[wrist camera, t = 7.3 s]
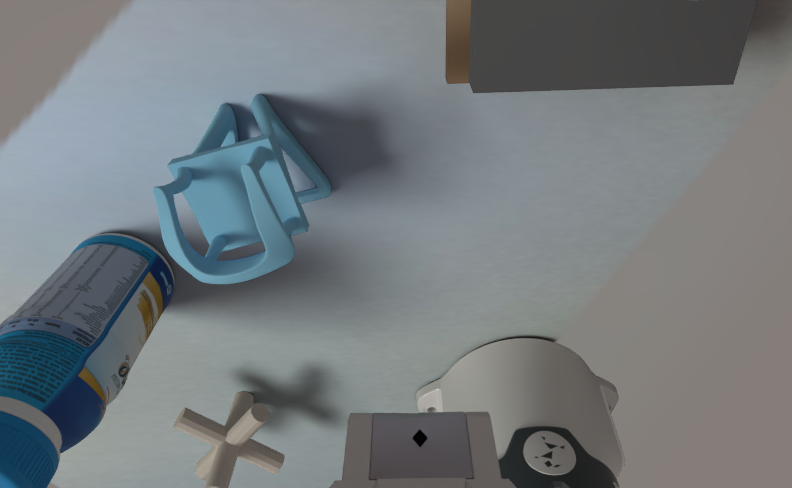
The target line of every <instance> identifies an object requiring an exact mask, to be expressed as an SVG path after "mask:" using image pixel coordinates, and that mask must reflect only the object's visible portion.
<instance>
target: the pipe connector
mask: <svg viewBox="0 0 792 488" xmlns="http://www.w3.org/2000/svg"><path fill="white" fill-rule="evenodd" d="M253 402H254V397H253V396H252V395H251V394H250V393H248V392H239V393H237V394H236V395H235V398H234V401H233V404H232V407H231V410H230V413H229V416H228V419H227V422H226V425H225V426H223V425H221V424H219V423H217V422H215V421H213V420H211V419H209V418H206V417H204V416H202V415H200V414H198V413H196V412H194V411H192V410H190V409H188V408H186V407H185V408H184V409H183V410H182V411H181V413H180V414H179V416H178V418H177V419H176V422H175V424H174V428H176V429H178V430H180V431H182V432H185V433H187V434H189V435H191V436H193V437H195V438H198V439H200V440H202V441H204V442H206V443H208V444H211V445H213V446H214V447H213V448H212V449H211V450H210V451H209V452H208V453H207V454H206V455H205V456H204V457H203V458H202V459H201V460H200V461H199V462H198V464H197V465H196V466H195V472H196V474H197V476H198V477H199V478H200V479H204V480H207V482H206V485H205V488H228V486H229V483H230V480H231V476H232V473H233V470H234V466H235V463H236V459H237V457H239V458H241V459H243V460H245V461H247V462H250V463H252V464H254V465H256V466H258V467H260V468H263V469H265V470H267V471H269V472H271V473H273V474H276V473H277V472H278V471H279V470H280V468H281V466H282V464H283V462H284V455H283V454H282V453H280V452H278V451H275V450H273V449H271V448H269V447H267V446H265V445H263V444H261V443H259V442H257V441H255V440H252V439H250V438H251V437H252V436H253V435H254V434H255V433H256V432H257V431H258V430H259V429H260V428H261V427H262V426H263V425H264V424H265V423H266V422H267V421H268V419H269V417H270V413H269V411H268V409H267V407H265V406H264V405H263V404H260V403H257V404H254V405H253ZM252 405H253V406H252Z"/></svg>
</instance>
